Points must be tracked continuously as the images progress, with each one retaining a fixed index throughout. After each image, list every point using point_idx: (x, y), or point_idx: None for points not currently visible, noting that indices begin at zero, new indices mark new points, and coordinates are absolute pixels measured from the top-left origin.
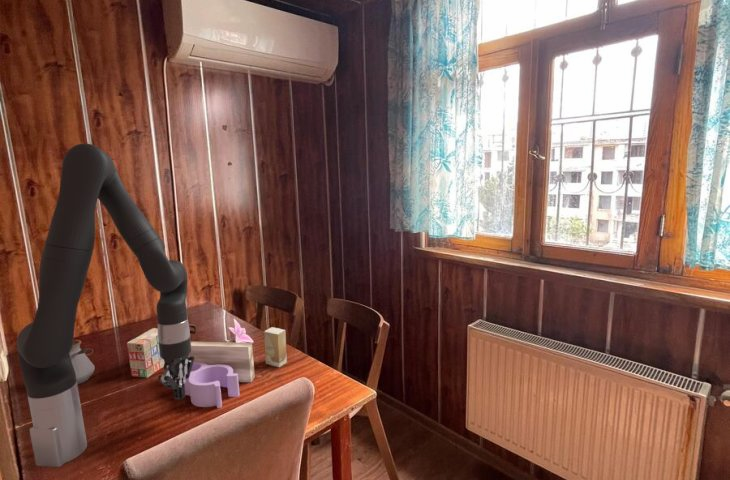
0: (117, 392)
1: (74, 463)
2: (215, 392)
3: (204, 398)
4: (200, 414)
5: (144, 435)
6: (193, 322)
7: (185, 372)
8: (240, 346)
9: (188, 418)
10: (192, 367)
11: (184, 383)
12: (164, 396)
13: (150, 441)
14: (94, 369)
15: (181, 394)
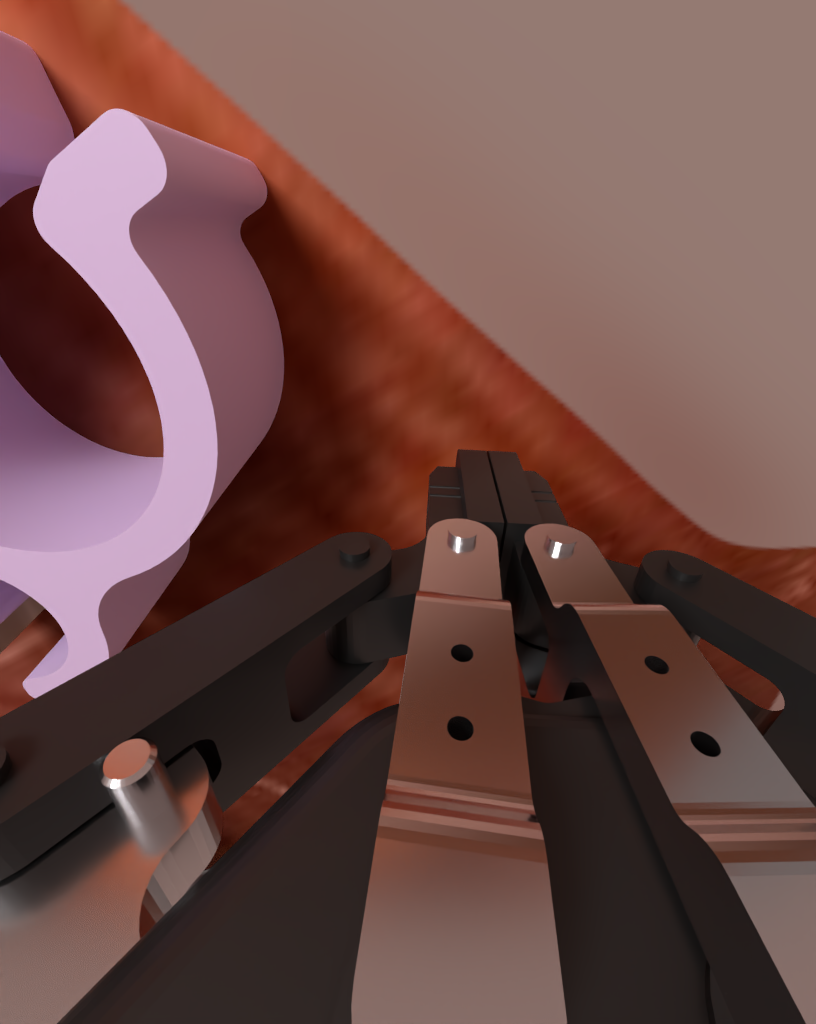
0: (265, 777)
1: (730, 684)
2: (187, 217)
3: (254, 337)
4: (373, 310)
5: None
6: None
7: (483, 635)
8: None
9: (426, 378)
10: None
11: (466, 525)
12: None
13: (646, 485)
14: (184, 894)
15: (525, 477)
